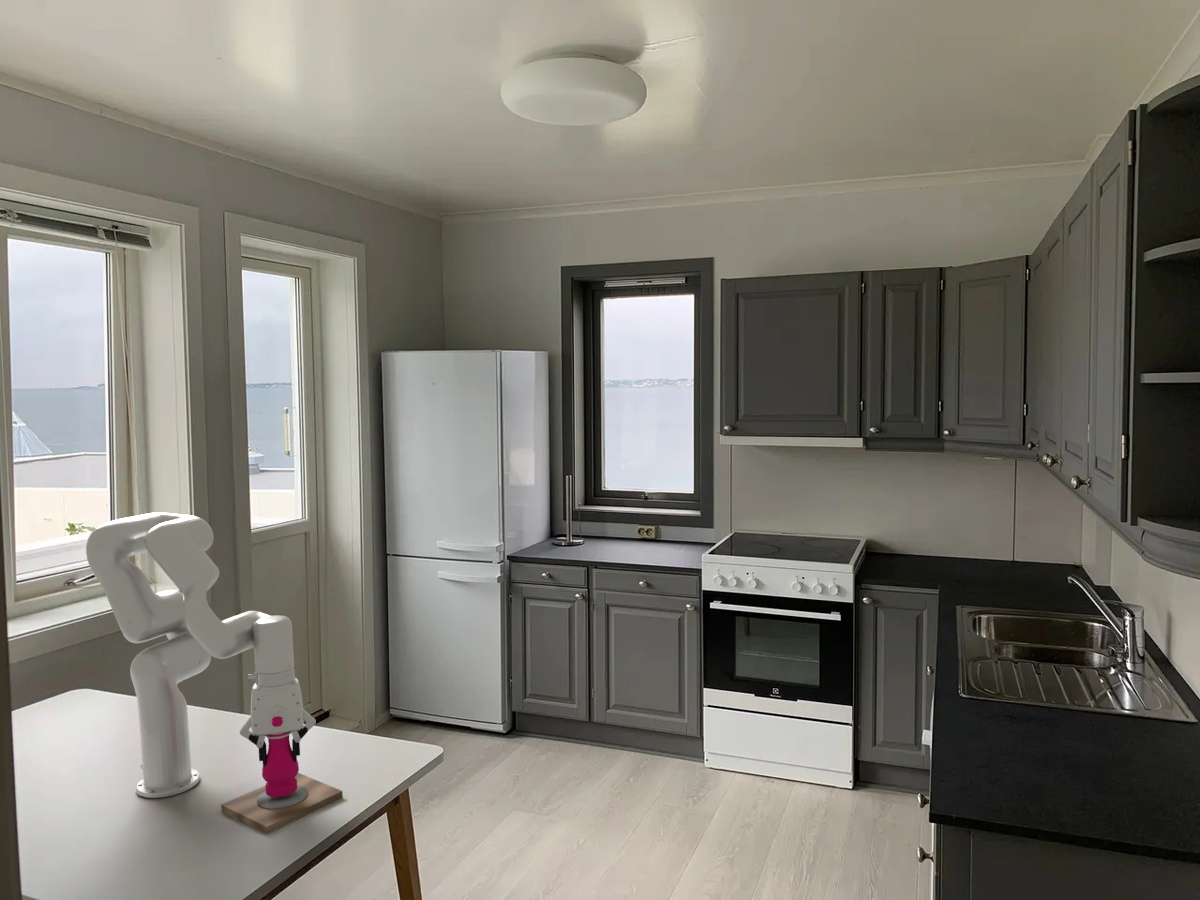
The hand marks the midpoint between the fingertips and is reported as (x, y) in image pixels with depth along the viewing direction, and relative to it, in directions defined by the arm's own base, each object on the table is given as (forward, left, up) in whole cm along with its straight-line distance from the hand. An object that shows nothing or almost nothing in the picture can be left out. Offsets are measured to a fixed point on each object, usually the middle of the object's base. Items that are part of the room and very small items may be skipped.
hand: (280, 760), depth 187 cm
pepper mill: (0, 0, -7) cm, 7 cm away
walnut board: (0, 0, -10) cm, 10 cm away
